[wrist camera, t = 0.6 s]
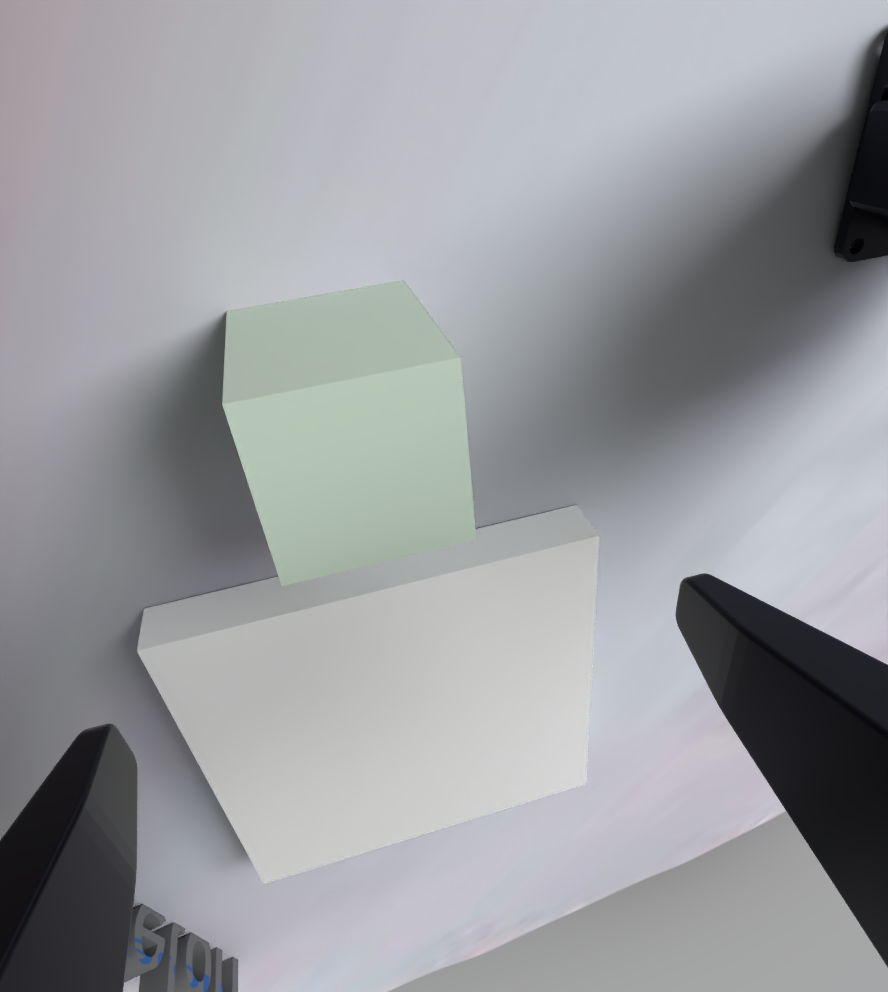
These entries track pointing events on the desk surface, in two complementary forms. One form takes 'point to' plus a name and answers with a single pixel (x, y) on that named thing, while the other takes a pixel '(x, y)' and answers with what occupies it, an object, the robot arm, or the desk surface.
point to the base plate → (387, 690)
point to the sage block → (349, 428)
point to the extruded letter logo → (175, 958)
